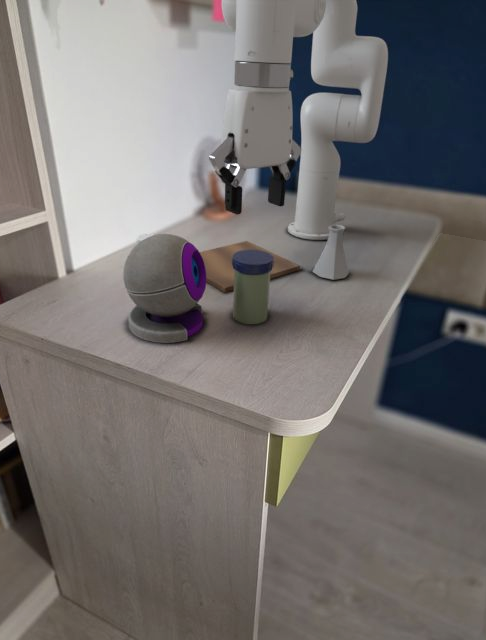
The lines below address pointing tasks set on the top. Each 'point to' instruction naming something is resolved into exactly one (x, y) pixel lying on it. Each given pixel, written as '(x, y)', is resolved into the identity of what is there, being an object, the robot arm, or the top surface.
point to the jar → (251, 297)
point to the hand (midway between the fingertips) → (255, 207)
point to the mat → (223, 271)
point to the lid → (252, 262)
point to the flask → (333, 256)
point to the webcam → (165, 288)
